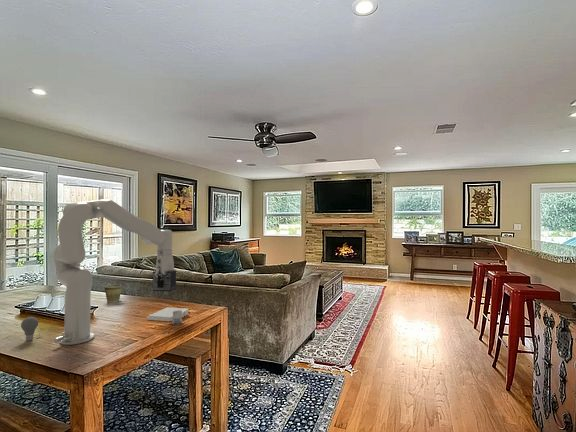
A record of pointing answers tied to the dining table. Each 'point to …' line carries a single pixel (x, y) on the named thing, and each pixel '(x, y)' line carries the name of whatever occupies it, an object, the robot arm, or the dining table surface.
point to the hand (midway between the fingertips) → (164, 285)
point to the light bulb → (29, 327)
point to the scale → (166, 314)
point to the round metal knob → (177, 317)
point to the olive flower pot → (113, 293)
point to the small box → (166, 281)
